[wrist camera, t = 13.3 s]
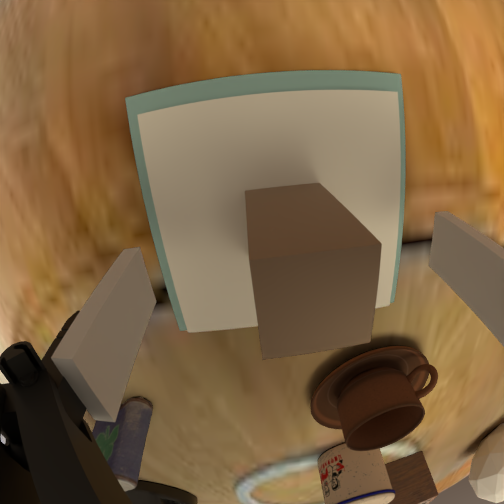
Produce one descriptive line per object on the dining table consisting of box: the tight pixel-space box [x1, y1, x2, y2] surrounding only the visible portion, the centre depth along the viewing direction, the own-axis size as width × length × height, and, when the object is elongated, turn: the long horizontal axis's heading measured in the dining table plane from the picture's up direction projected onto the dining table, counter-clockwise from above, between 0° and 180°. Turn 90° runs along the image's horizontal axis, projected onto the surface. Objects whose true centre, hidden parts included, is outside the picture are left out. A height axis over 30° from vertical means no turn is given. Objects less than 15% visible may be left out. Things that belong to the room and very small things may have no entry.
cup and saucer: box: [311, 346, 438, 451], centre depth 23 cm, size 12×12×6 cm
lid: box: [137, 90, 401, 360], centre depth 14 cm, size 14×14×9 cm
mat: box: [125, 70, 405, 331], centre depth 18 cm, size 16×16×1 cm
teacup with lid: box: [318, 443, 395, 504], centre depth 28 cm, size 12×9×12 cm
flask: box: [92, 397, 153, 491], centre depth 22 cm, size 10×3×12 cm, turn 129°
